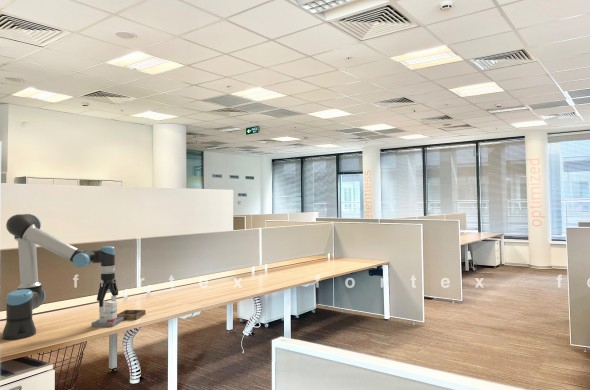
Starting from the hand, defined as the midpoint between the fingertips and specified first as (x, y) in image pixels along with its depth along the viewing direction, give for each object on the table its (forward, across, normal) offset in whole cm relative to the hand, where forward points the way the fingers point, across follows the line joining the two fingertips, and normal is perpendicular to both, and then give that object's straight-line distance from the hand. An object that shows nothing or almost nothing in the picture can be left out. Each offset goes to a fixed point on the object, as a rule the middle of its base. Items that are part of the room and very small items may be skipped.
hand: (108, 309), depth 246 cm
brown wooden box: (+8, +14, -7) cm, 18 cm away
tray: (+8, 0, 0) cm, 8 cm away
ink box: (+8, 0, 0) cm, 8 cm away
